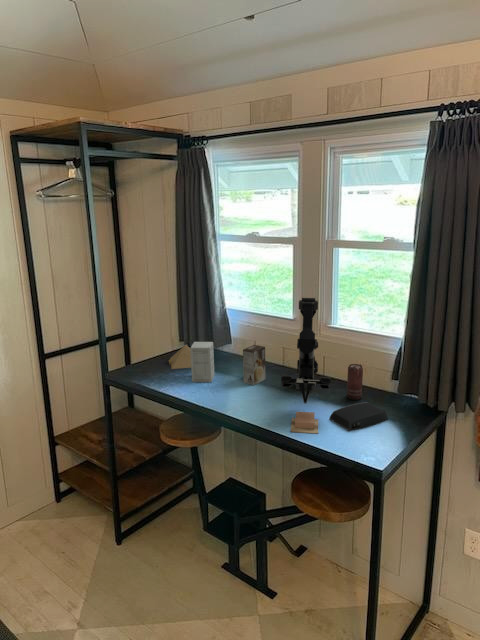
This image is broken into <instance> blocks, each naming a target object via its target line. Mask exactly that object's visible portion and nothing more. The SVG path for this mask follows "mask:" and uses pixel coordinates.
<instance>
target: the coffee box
mask: <svg viewBox="0 0 480 640" xmlns="http://www.w3.org/2000/svg"><path fill="white" fill-rule="evenodd" d="M242 360H243V361H242V362H243V363H242V365H243V366H242V367H243V368H242V370H243V375H242V377H243V383H244V384H249V385H252V386H256V385H258V384H260V383H261V382H263V381H265V380H266V346H263V345H256V344H253V345H250V346H247V347H245V348H243V349H242Z"/></svg>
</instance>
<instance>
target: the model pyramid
mask: <svg viewBox="0 0 480 640" xmlns="http://www.w3.org/2000/svg"><path fill="white" fill-rule="evenodd" d="M190 348H191V347H189V346H188V345H187V344H184V345H183V346H182V347H181V348H180V349H179V350H178V351H177V352H176V353H174V354H173V355H172V356H171V357H170V358H169V359H168V365H170V368H171V370H176V369H185V368H186V369H191V349H190Z"/></svg>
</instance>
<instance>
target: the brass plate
mask: <svg viewBox="0 0 480 640" xmlns="http://www.w3.org/2000/svg"><path fill="white" fill-rule="evenodd" d="M295 419H296V417H292V418H291V422H290V424H291V425H290V433H300V434H301V433H302V434H303V433H304V434H319V419H318V418H316V419H315V423H314V429H307V428H295Z"/></svg>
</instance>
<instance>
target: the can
mask: <svg viewBox="0 0 480 640" xmlns="http://www.w3.org/2000/svg"><path fill="white" fill-rule="evenodd" d="M363 374H364V368H363V365H361V364H358V363H351V364H349V365H348V367H347V378H346V379H347V380H346V381H347V382H346V397H347V398H348V399H349V400H353V401H356V400H360V399H361V398H362V394H363V376H364V375H363Z"/></svg>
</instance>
